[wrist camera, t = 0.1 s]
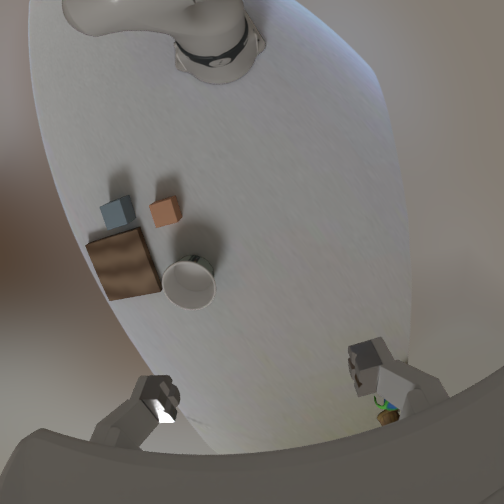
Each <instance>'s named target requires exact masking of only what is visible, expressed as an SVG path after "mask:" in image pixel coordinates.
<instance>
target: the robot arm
mask: <svg viewBox="0 0 504 504" xmlns="http://www.w3.org/2000/svg"><path fill="white" fill-rule="evenodd" d="M62 9H63V13H64V16H65V18H66V20H67V22H68V23H69V24H70V25H71V26H72V27H73V28H74V29H76V30H77V31H79V32H81V33H83V34H86V35H89V36H93V37H99V36H103V35H107V34H111V33H116V32H123V31H150V32H157V33H163V34H167V35H170V36H171V37H173V38H174V39H175V42H174V48H176V58H175V65H176V68H177V69H178V70H180V71H183V72H188V73H190V74H192V75H193V76H194V77H196V78H197V79H199V80H201V81H203V82H206V83H210V84H225V83H229V82H232V81H235V80H237V79H239V78H241V77H242V76H243V75H245V74H246V73H247V72H248V71H249V70H250V68H251V67H252V65H253V63H254V61H255V58H256V57H257V55H259V54H260V53H261V52H262V51H263V50H264V49H265V47H266V45H265V42H264V40H263V38H262V37H261V35H260V33H259V32H258V30H257V28H256V27H255V25H254V23H253V22H252V20H251V19H250V17H249V15H248V14H247V12H246V11H245V9H244V5H243V1H242V0H62ZM257 40H259V42H258V41H257ZM348 354H349V356H350V358H349V359H348V366H349V372H350V375H351V378H352V379H353V380H354V387H355V389H356V392H357V395H358V397H361V396H364V395H368V394H372V393H375V392H377V394H379V395H380V396H381V397H383V398H384V399H386V400H387V401H388V402H390V403H391V404H392V405H394V406H395V407H397V408H398V409H399V410H401V414H400V417H399V420H398V421H395V422H393V423H390V424H387V425H384V426H381V427H378V428H375V429H372V430H369V431H365V432H362V433H359V434H355V435H352V436H348V437H344V438H340V439H336V440H332V441H327V442H323V443H318V444H313V445H308V446H302V447H296V448H290V449H283V450H276V451H267V452H257V453H245V454H226V455H188V454H169V453H157V452H148V451H143V450H142V449H140V448H139V446H140V445H141V444H142V443H143V441H144V440H145V439H146V438H147V437H148V436H149V435H150V433H151V432H152V431H153V430H154V429H155V428H156V427H157V425H158V424H159V422H175V419H176V415H177V410H176V407H177V406H178V405H179V403H180V393H179V390H178V388H177V386H175V385H174V384H172V381H173V380H172V379H171V377H170V376H169V375H150V376H140V377H139V378H138V381H137V383H136V385H135V388H134V390H133V393H132V395H131V398H130V400H126V401H125V402H124V403H123V404H121V405H120V406H119V407H118V408H117V409H115V410H114V411H113V412H111V413H110V414H109V415H108V416H106V417H105V418H104V419H103V420H101V421H100V422H99V423H98V424H97V425H96V428H95V430H94V432H93V434H92V437H91V439H90V441H85V440H81V439H77V438H74V437H70V436H66V435H63V434H60V433H57V432H53V431H51V430H48V429H44V428H41V429H38V430H36V431H34V432H33V433H31V434H30V435H28V436H27V437H25V438H24V439H22V440H21V441H20V442H19V444H18V445H17V446H16V448H15V450H14V451H13V453H12V455H11V457H10V458H9V460H8V462H7V464H6V466H5V467H4V469H3V472H2V474H1V476H0V504H504V366H503V367H501V368H500V369H498V370H497V371H495V372H494V373H492V374H491V375H489V376H488V377H486V378H485V379H483V380H481V381H480V382H478V383H476V384H475V385H473V386H471V387H469V388H467V389H466V390H464V391H462V392H460V393H458V394H456V395H454V396H453V397H451V398H450V397H449V396H448V394H447V392H446V391H445V389H444V388H443V386H442V384H441V382H440V381H439V379H438V378H436V377H434V376H431V375H429V374H427V373H425V372H423V371H421V370H419V369H417V368H414V367H412V366H410V365H408V364H406V363H404V362H402V361H400V360H394V358H393V356H392V354H391V353H390V351H389V349H388V347H387V346H386V344H385V342H384V340H383V339H382V337H377V338H374V339H371V340H368V341H364V342H361V343H358V344H354V345H350V346H348Z"/></svg>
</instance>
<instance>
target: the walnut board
mask: <svg viewBox="0 0 504 504" xmlns="http://www.w3.org/2000/svg"><path fill="white" fill-rule="evenodd" d="M85 246H86V249H87V251H88V254H89V256H90V259H91V261H92V263H93V266H94V268H95V270H96V273H97V275H98V277H99V279H100V282H101V284H102V286H103V288H104V290H105V292H106V295H107V297H108V299H109V301H113V300H118V299H124V298H130V297H135V296H141V295H146V294H152V293H157V292H161V290H162V289H163V288H162V284H161V281H160V279H159V276H158V274H157V271H156V269H155V266H154V264H153V261H152V258H151V256H150V253H149V250H148V248H147V245H146V242H145V239H144V236H143V234H142V231H141V228H140V227H138V228H135V229H131V230H128V231H125V232H121V233H118V234H115V235H112V236H108V237H105V238H102V239H99V240H96V241H93V242H90V243H88V244H87V245H85Z"/></svg>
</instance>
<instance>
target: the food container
mask: <svg viewBox="0 0 504 504" xmlns="http://www.w3.org/2000/svg"><path fill="white" fill-rule="evenodd" d="M162 288H163V291H164V293H165V295H166V297H167V298H168V299H169V300H170V301H171V302H172V303H173V304H174V305H176V306H178V307H180V308H183V309H186V310H199V309H202V308H204V307H206V306H208V305H209V304H210V303H211V302H212V301H213V299H214V297H215V294H216V283H215V280H214V274H213V269H212V267H211V265H210V264H209V263H208V262H207V261H206V260H205V259H204V258H202V257H199V256H195V255H190V256H186V257H184V258H182V259H181V260H179V261H178V262H176V263H173V264H172V265H170V266H169V267H168V268H167V269H166V270H165V272H164V274H163V277H162Z"/></svg>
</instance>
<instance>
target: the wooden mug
mask: <svg viewBox="0 0 504 504" xmlns="http://www.w3.org/2000/svg"><path fill="white" fill-rule="evenodd" d="M399 417H400V415H399V414H398V410H397V409H396V410H392V411H389V410H387V409H386V410H384V411H383V412H381V413H380V414H379V415H378V417H377V419H378V421H379V422H380V423H381V425H382V426H384V425H387V424H390V423H393V422H395V421H398V420H399Z"/></svg>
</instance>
